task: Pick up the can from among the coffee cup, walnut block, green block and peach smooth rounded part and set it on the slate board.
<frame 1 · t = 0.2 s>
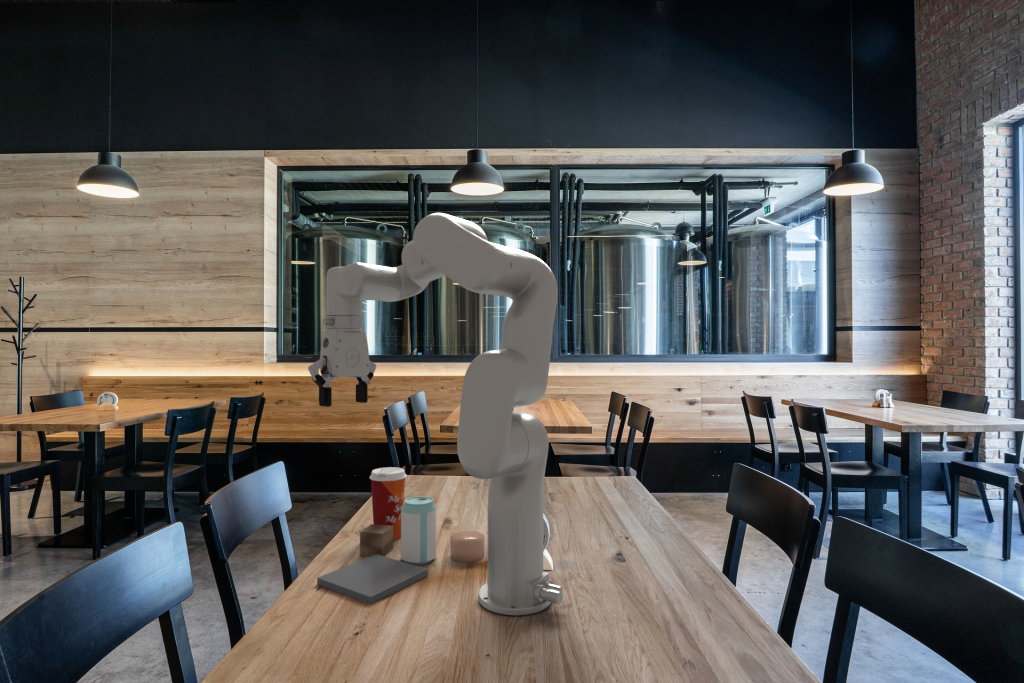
hand: (344, 404, 119), 31 cm above the table, fingers open, 9 cm apart
can: (418, 560, 112), on the table
green block: (423, 540, 123), on the table
walnut block: (376, 552, 116), on the table
slate board: (373, 579, 102), on the table
peach smooth rounded part: (467, 556, 114), on the table
coffee cup: (388, 537, 125), on the table
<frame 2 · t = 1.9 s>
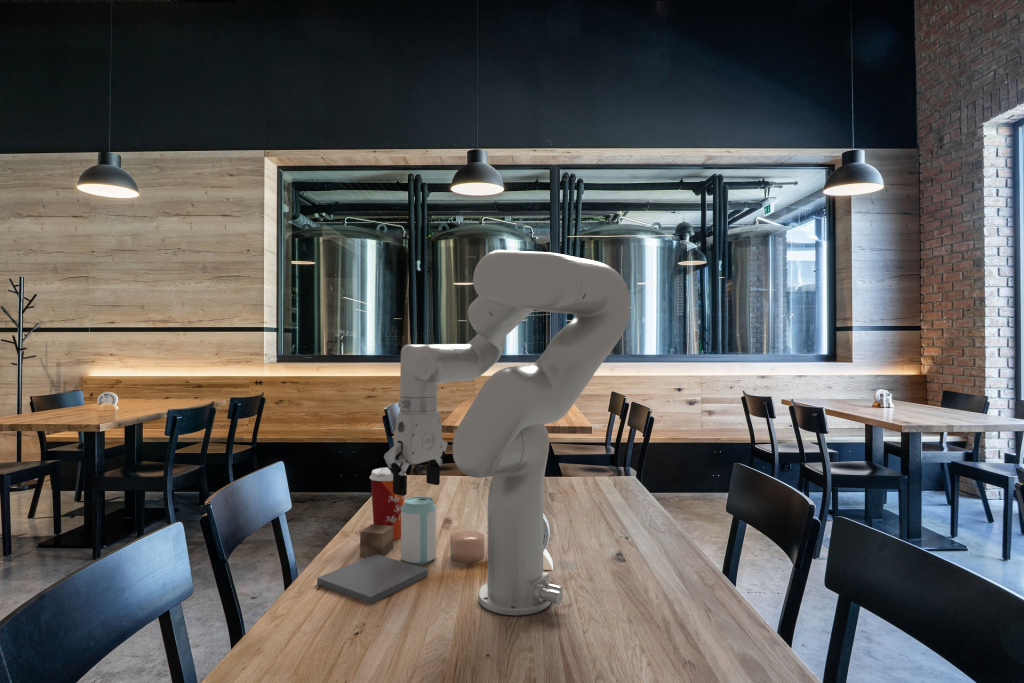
hand: (416, 488, 112), 14 cm above the table, fingers open, 9 cm apart
nothing on the table moved.
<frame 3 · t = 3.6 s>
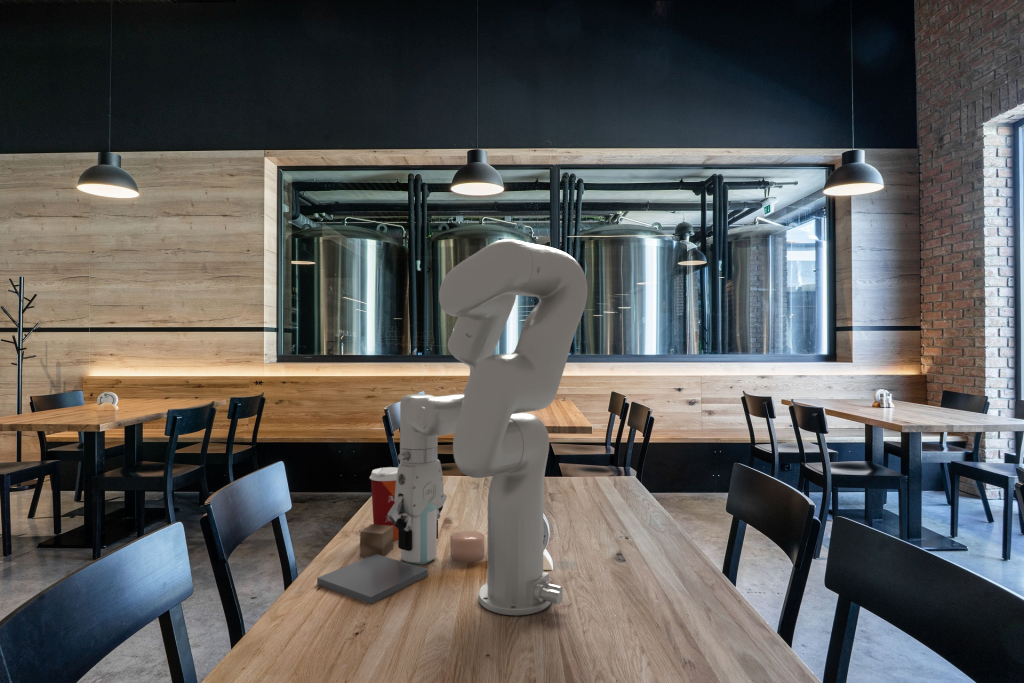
hand: (418, 542, 112), 3 cm above the table, fingers closed on can, 6 cm apart
can: (418, 560, 112), on the table, touching gripper
everything else where it was.
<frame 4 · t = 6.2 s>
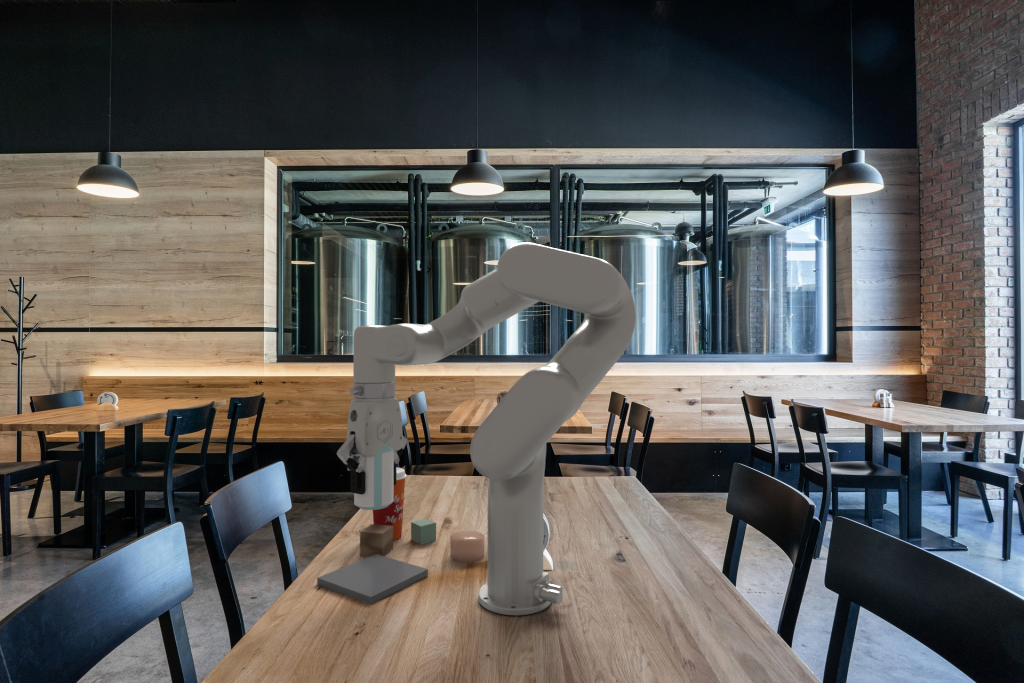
hand: (374, 487, 102), 17 cm above the table, fingers closed on can, 6 cm apart
can: (373, 506, 102), point 13 cm above the table, touching gripper
everything else where it was.
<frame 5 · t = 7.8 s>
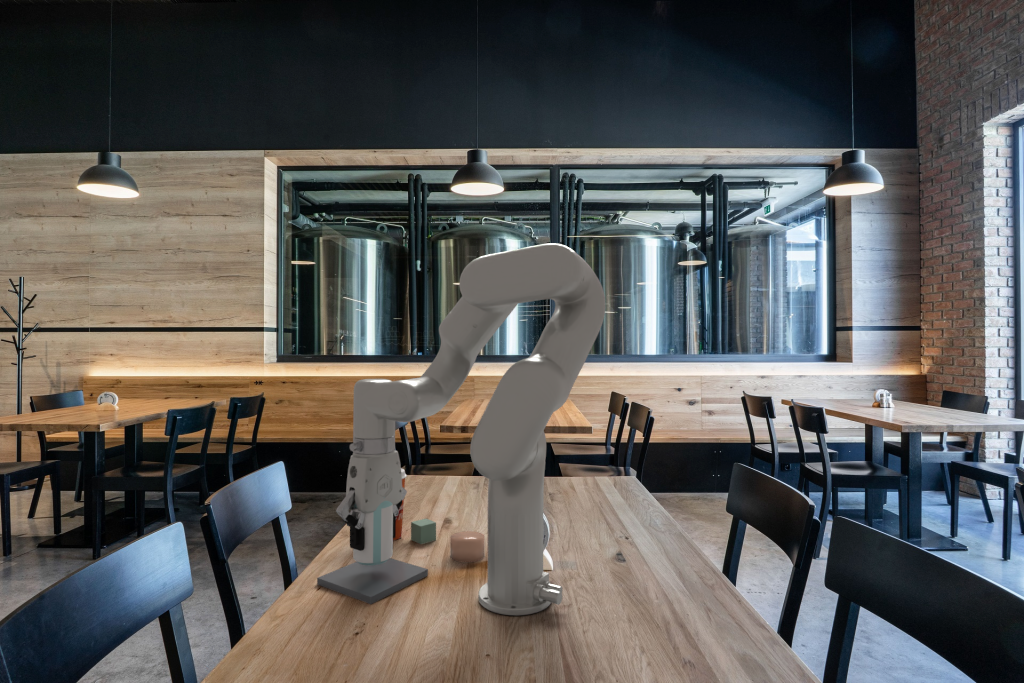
hand: (373, 541, 102), 7 cm above the table, fingers closed on can, 6 cm apart
can: (373, 560, 102), point 3 cm above the table, touching gripper
everything else where it was.
when the fingers open (6 cm above the table, at t = 9.0 s): can drops 1 cm, resting on slate board.
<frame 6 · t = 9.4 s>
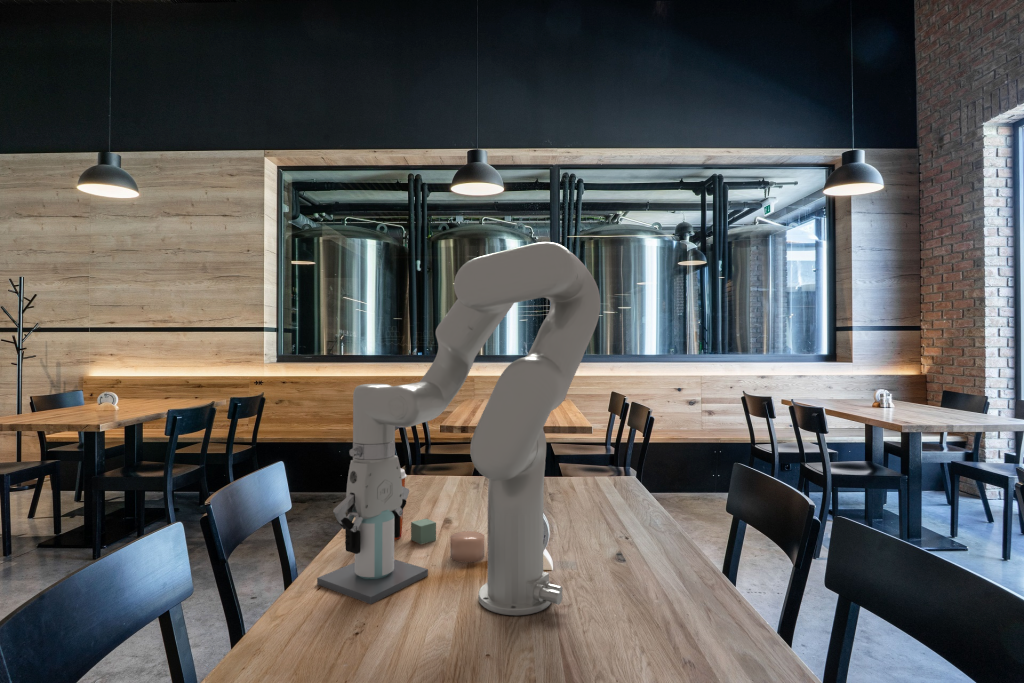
hand: (373, 543, 102), 7 cm above the table, fingers open, 9 cm apart
can: (374, 574, 102), point 1 cm above the table, touching slate board
everything else where it was.
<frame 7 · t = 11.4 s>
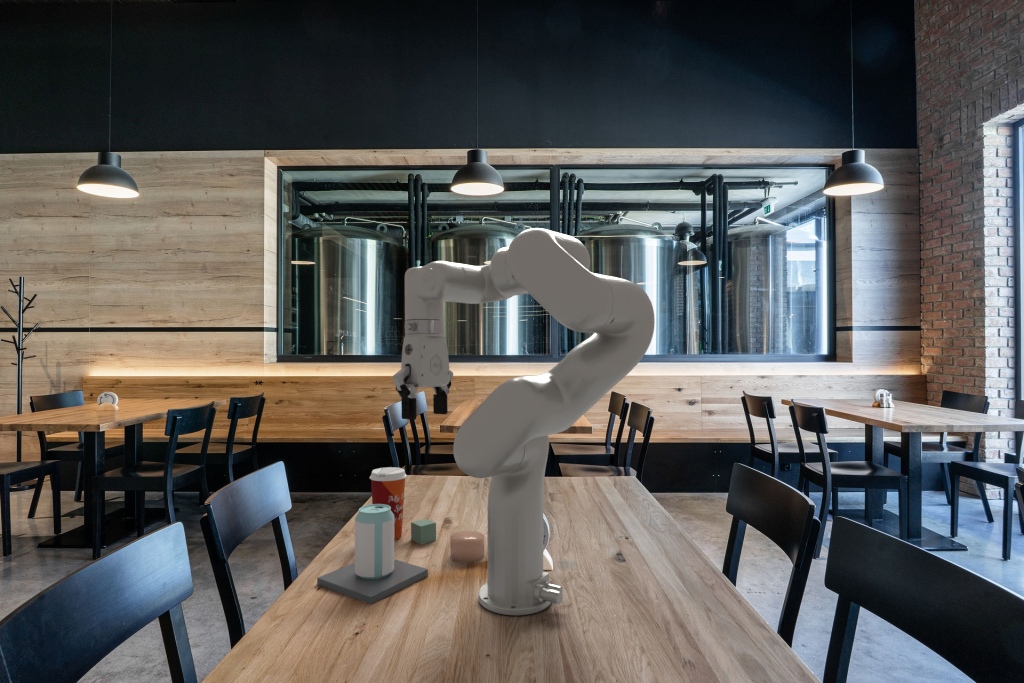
hand: (425, 416, 109), 29 cm above the table, fingers open, 9 cm apart
nothing on the table moved.
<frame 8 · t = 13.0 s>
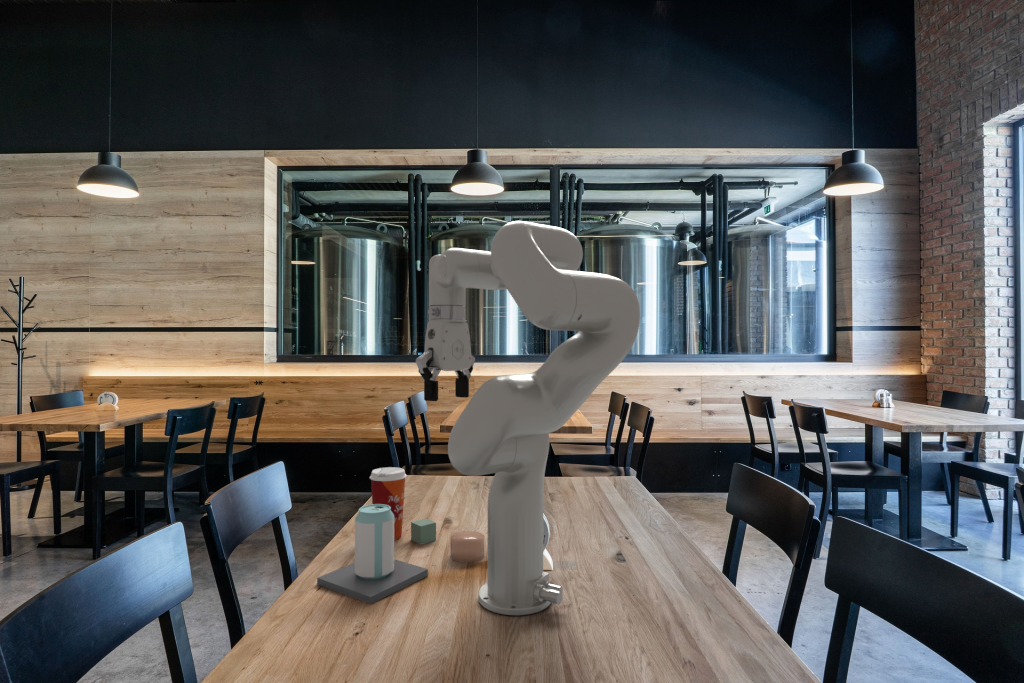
hand: (447, 398, 113), 32 cm above the table, fingers open, 9 cm apart
nothing on the table moved.
at the end: can inside the target area on the slate board (0.1 cm from its centre), point 1.0 cm above the slate board's base; can tilted 0°; the gripper is holding nothing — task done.
